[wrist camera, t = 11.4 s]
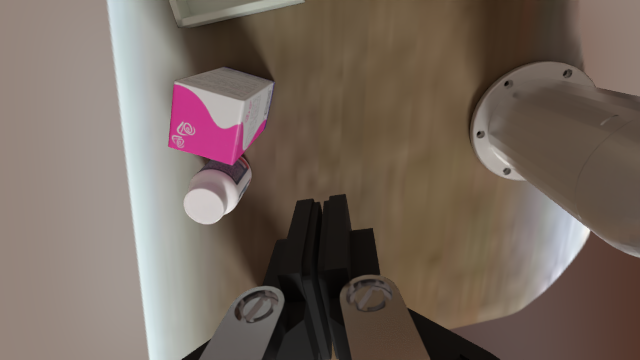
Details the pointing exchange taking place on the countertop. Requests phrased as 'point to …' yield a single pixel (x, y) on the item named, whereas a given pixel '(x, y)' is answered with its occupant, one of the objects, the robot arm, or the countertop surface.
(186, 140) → the supplement box
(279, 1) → the tray
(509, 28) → the countertop surface
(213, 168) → the pill bottle
